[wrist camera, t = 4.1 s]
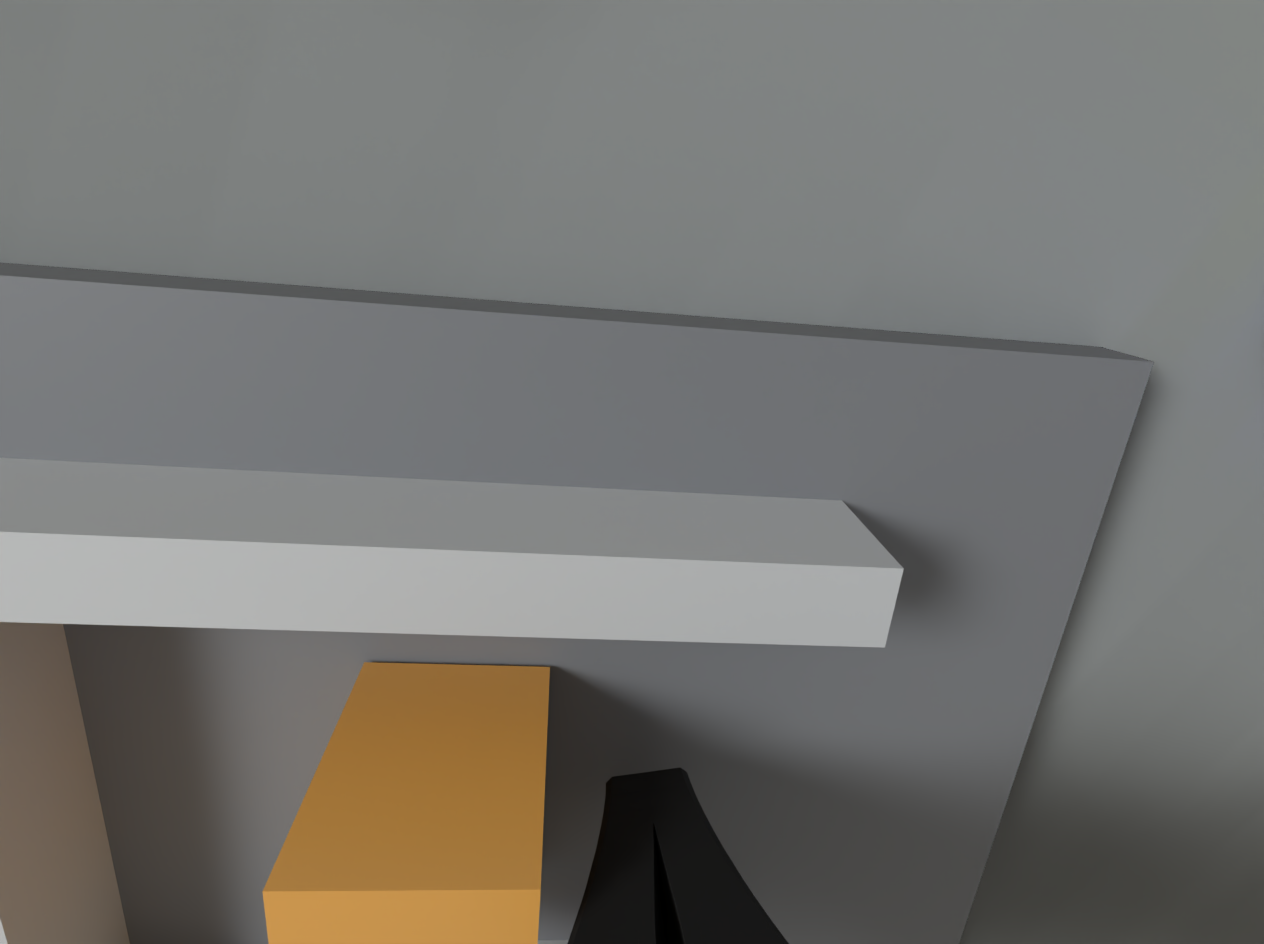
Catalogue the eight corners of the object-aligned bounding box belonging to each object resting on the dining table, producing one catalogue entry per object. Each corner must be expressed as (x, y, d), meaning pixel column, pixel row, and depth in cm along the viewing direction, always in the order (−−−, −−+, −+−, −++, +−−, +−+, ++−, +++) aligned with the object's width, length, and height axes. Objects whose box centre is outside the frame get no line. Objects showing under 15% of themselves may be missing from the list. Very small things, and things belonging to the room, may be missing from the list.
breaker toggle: (549, 667, 12) (540, 889, 8) (538, 869, 14) (525, 1138, 10) (363, 662, 12) (262, 891, 8) (374, 870, 13) (293, 1147, 9)
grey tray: (1100, 347, 12) (1292, 400, 9) (900, 998, 18) (975, 1178, 15) (-61, 257, 10) (-350, 284, 7) (113, 1017, 16) (-4, 1228, 13)
